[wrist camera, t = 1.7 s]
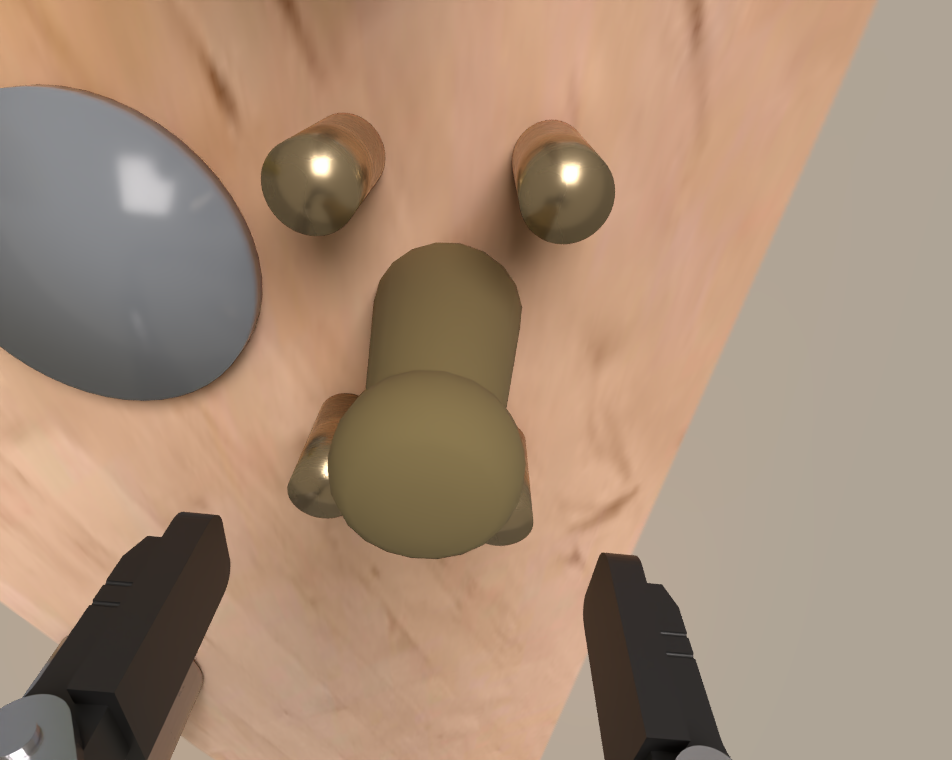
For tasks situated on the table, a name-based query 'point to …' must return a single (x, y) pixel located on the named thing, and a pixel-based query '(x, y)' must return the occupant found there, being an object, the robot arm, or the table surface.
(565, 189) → the cylinder
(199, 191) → the slate coaster
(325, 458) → the cylinder
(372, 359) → the cork
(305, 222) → the cylinder
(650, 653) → the robot arm
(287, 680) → the table surface
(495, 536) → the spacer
